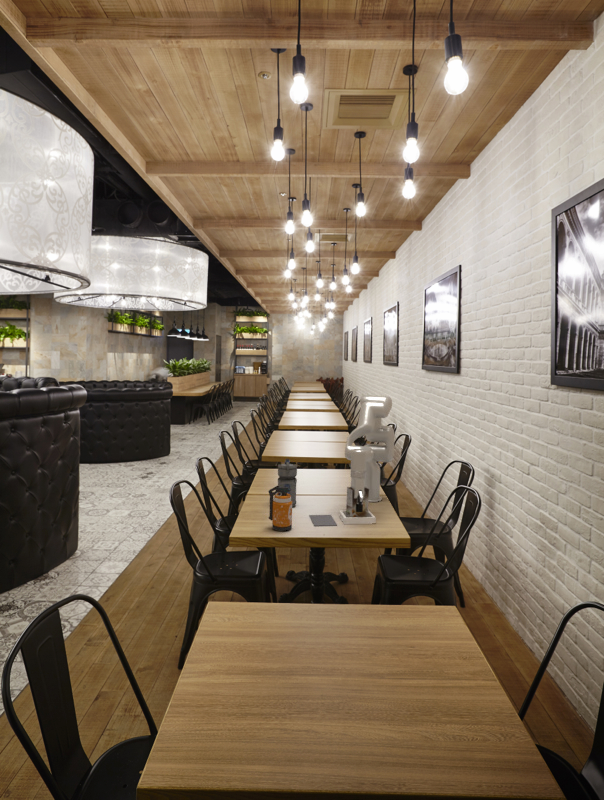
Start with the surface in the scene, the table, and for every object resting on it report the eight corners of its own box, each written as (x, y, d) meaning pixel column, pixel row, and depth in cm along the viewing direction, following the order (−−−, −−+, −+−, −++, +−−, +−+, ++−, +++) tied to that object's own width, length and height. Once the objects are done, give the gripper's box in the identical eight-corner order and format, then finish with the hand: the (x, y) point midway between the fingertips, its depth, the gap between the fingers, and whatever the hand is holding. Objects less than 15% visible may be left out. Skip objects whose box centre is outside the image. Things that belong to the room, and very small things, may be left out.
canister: (289, 532, 228) (290, 489, 227) (265, 530, 230) (266, 487, 229) (293, 526, 237) (294, 484, 235) (270, 524, 239) (271, 482, 238)
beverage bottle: (295, 501, 278) (296, 457, 276) (296, 509, 265) (297, 462, 263) (277, 501, 278) (278, 456, 276) (277, 508, 264) (277, 461, 262)
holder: (338, 516, 254) (339, 510, 254) (368, 515, 256) (368, 510, 256) (344, 524, 242) (344, 518, 241) (375, 523, 244) (375, 517, 243)
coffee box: (352, 523, 244) (353, 490, 243) (345, 519, 250) (346, 487, 248) (368, 520, 248) (369, 488, 247) (361, 517, 254) (362, 485, 252)
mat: (309, 515, 254) (309, 515, 254) (330, 515, 255) (330, 514, 255) (314, 526, 238) (314, 525, 238) (337, 525, 239) (337, 524, 239)
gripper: (346, 470, 255) (345, 504, 256) (354, 478, 238) (353, 514, 239) (361, 470, 256) (360, 504, 257) (370, 478, 239) (369, 514, 240)
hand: (357, 509), depth 248 cm, fingers closed on coffee box, 7 cm apart
